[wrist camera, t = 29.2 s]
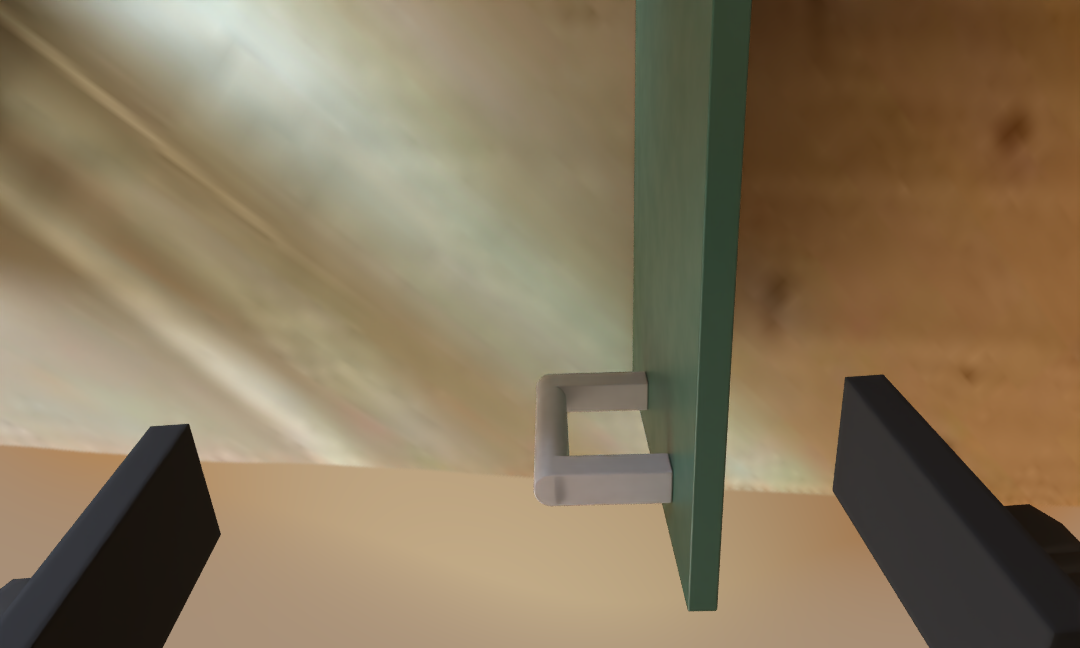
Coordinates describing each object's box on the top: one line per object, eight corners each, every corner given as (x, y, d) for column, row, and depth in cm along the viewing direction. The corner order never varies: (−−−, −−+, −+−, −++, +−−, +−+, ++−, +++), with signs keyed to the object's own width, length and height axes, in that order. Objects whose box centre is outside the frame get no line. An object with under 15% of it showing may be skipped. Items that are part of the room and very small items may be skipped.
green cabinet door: (539, 384, 44) (534, 615, 27) (521, -66, 36) (499, -147, 19) (650, 381, 44) (717, 611, 27) (658, -71, 36) (761, -158, 18)
